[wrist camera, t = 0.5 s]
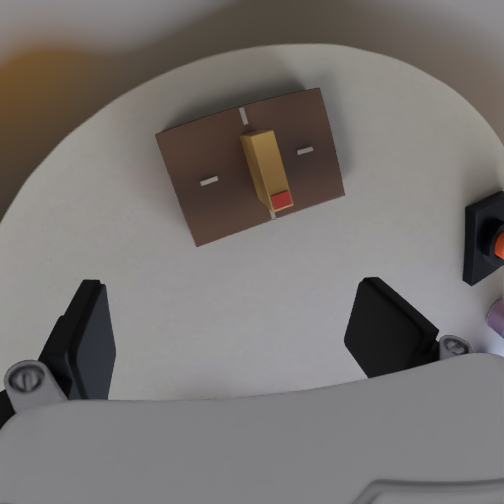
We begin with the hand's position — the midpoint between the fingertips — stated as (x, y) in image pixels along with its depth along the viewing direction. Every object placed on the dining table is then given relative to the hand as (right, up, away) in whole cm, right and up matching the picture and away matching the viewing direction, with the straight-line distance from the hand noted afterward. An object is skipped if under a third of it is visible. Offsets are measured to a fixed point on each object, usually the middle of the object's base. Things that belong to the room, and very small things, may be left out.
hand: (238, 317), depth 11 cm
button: (+36, +3, +24) cm, 44 cm away
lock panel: (0, +10, +17) cm, 20 cm away
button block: (+36, +5, +27) cm, 45 cm away
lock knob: (+1, +9, +14) cm, 17 cm away
